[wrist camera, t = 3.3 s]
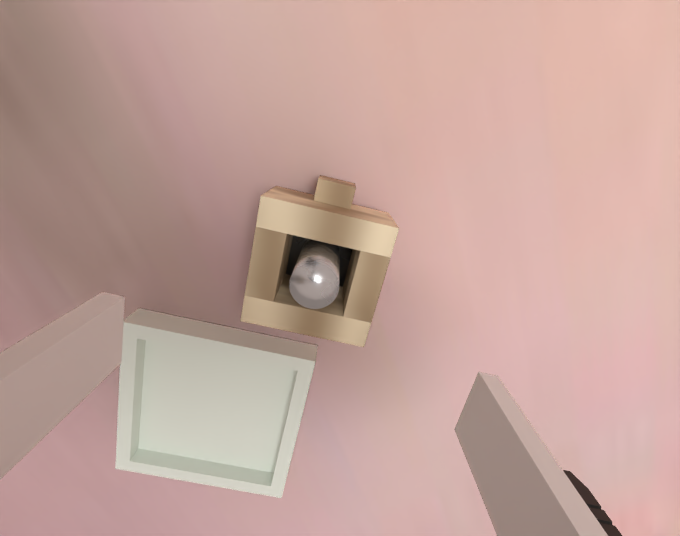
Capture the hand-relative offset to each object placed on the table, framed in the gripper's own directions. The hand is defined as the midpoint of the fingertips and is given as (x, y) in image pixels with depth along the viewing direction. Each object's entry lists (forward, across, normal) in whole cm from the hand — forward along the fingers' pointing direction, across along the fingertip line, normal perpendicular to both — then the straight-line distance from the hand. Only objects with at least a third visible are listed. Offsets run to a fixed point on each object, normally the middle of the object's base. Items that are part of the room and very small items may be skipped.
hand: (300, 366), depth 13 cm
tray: (+15, -6, -16) cm, 23 cm away
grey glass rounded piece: (+15, 0, 0) cm, 15 cm away
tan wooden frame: (+14, 0, 0) cm, 14 cm away
